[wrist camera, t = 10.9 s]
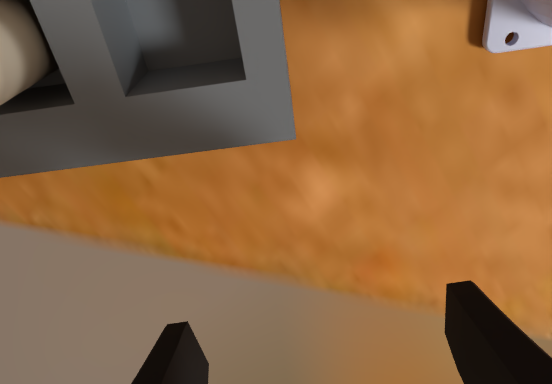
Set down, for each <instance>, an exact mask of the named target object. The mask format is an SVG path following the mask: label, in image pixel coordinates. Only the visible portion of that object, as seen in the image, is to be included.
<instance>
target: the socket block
mask: <svg viewBox="0 0 552 384" xmlns="http://www.w3.org/2000/svg"><path fill="white" fill-rule="evenodd" d="M30 2H31V4H32V7H33V9H34V11H35V14H36V16H37V18H38V20H39V23H40V25H41V27H42V30H43V32H44V34H45V37H46V39H47V41H48V43H49V46H50V48H51V50H52V53H53V55H54V57H55V60H56V62H57V64H58V66H59V69H57V70H56V71H54V72H53V73H51V74H49V75H48V76H46V77H45V78H43V79H41V80H40V81H38V82H37V83H35V84H33V85H32V86H30V87H29V88H27V89H26V90H24V91H22V92H21V93H19V94H18V95H16V96H14V97H13V98H11V99H10V100H8V101H7V102H5V103H3V104H2V105H0V178H1V177H9V176H16V175H24V174H32V173H39V172H47V171H55V170H63V169H70V168H78V167H86V166H93V165H101V164H109V163H116V162H124V161H132V160H139V159H147V158H155V157H162V156H170V155H178V154H185V153H193V152H201V151H209V150H216V149H224V148H232V147H239V146H247V145H255V144H262V143H270V142H278V141H285V140H293V139H296V134H295V125H294V116H293V107H292V98H291V90H290V82H289V74H288V66H287V58H286V50H285V42H284V33H283V25H282V17H281V9H280V1H279V0H30Z"/></svg>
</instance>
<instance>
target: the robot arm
mask: <svg viewBox="0 0 552 384" xmlns="http://www.w3.org/2000/svg"><path fill="white" fill-rule="evenodd" d="M511 32H513V33H514V36H513V39H512V40H511V41H510V42H508V43H505V38H506V36H507V35H508V34H509V33H511ZM482 44H483V47H484V48H485V49H486V50H488V51H489V52H491V53H501V52H508V51H515V50H522V49H529V48H536V47H543V46H551V45H552V0H488V2H487V10H486V17H485V24H484V32H483V39H482ZM445 335H446V338H447V340H448V344H449V346H450V349H451V352H452V355H453V358H454V361H455V364H456V366H457V369H458V372H459V374H460V376H461V378H462V380H463V382H464V384H552V358H551V357H550V356H549V355H548V354H547V353H546V352H544V351H543V350H542V349H541V348H540V347H539V346H538V345H537V344H536V343H535V342H534V341H533V340H531V339H530V338H529V337H528V336H527V335H526V334H525V333H524V332H523V331H522V330H521V329H520V328H519V327H517V326H516V325H515V324H514V323H513V322H512V321H511V320H510V319H509V318H508V317H507V316H506V315H505V314H504V313H503V312H502V311H501V310H500V309H499V308H498V307H497V306H496V305H495V304H494V303H493V302H492V301H491V300H490V299H489V298H488V297H487V296H486V295H485V294H484V293H483V292H482V291H481V290H480V289H479V287H478V286H477V285H476V284H475V283H473V282H472V281H463V282H456V283H449V284H447V288H446V313H445ZM208 369H209V363H208V361H207V360H206V358H205V356H204V353H203V351H202V349H201V347H200V345H199V343H198V341H197V339H196V337H195V335H194V333H193V331H192V329H191V327H190V325H189V323H188V321H187V322H180V323H174V324H167V326H166V327H165V328H164V330H163V332H162V333H161V335H160V337H159V339H158V340H157V342H156V344H155V346H154V347H153V349H152V350H151V352H150V354H149V355H148V357H147V359H146V360H145V362H144V364H143V365H142V367H141V369H140V370H139V372H138V374H137V376H136V377H135V379H134V380H133V382H132V383H131V384H208V371H209V370H208Z"/></svg>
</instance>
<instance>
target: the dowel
mask: <svg viewBox="0 0 552 384" xmlns="http://www.w3.org/2000/svg"><path fill="white" fill-rule="evenodd" d="M57 69H59V66H58V64H57V62H56V60H55V57H54V55H53V53H52V50H51V48H50V46H49V43H48V41H47V39H46V37H45V34H44V32H43V30H42V27H41V25H40V23H39V20H38V18H37V16H36V14H35V11H34V9H33V7H32V4H31V2H30V0H0V105H2V104H3V103H5V102H7V101H8V100H10V99H11V98H13V97H14V96H16V95H18V94H19V93H21V92H22V91H24V90H26V89H27V88H29V87H30V86H32V85H33V84H35V83H37V82H38V81H40V80H41V79H43V78H45V77H46V76H48V75H49V74H51V73H53V72H54V71H56V70H57Z"/></svg>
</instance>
